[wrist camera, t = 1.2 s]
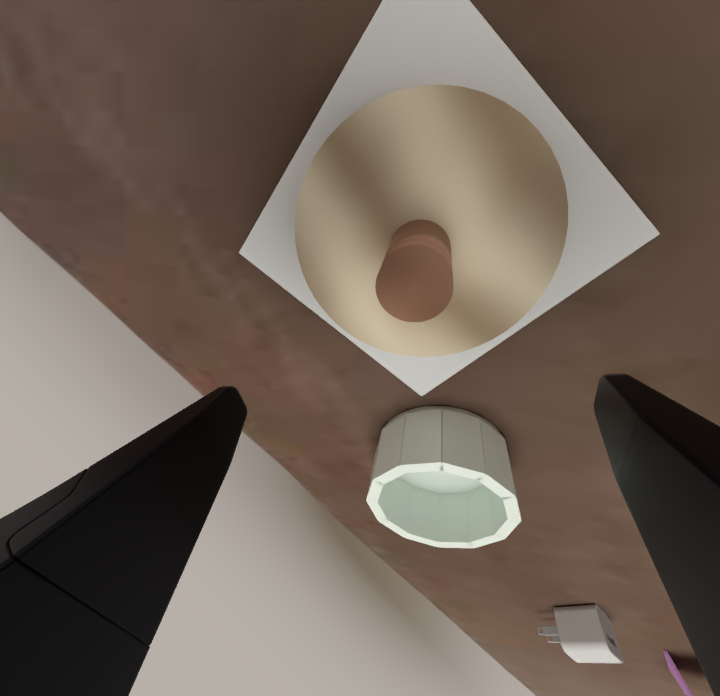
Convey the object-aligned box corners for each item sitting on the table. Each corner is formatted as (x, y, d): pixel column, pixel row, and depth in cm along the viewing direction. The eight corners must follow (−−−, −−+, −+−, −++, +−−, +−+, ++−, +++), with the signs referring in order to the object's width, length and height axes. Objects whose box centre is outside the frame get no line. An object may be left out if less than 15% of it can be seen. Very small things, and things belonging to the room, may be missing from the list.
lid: (418, -5, 12) (405, -71, 8) (623, 234, 15) (697, 283, 11) (260, 252, 19) (207, 292, 15) (421, 380, 22) (417, 446, 18)
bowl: (442, 383, 23) (442, 441, 19) (536, 459, 25) (553, 524, 21) (355, 443, 29) (340, 497, 25) (438, 501, 31) (437, 559, 27)
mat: (419, -56, 12) (418, -62, 12) (653, 230, 15) (660, 233, 15) (243, 249, 20) (238, 252, 20) (422, 390, 24) (421, 396, 23)
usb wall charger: (609, 617, 37) (625, 665, 34) (546, 621, 41) (555, 664, 37) (593, 601, 36) (608, 650, 33) (530, 606, 39) (537, 650, 36)
